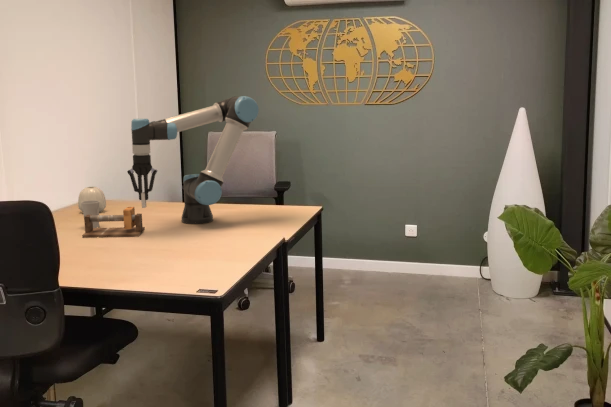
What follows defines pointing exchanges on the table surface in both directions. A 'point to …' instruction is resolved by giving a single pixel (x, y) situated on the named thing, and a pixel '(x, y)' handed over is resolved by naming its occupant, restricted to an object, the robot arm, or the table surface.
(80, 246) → the table surface
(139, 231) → the pipe stand
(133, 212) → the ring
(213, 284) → the table surface
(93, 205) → the cup
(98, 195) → the vase
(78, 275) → the table surface
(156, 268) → the table surface
